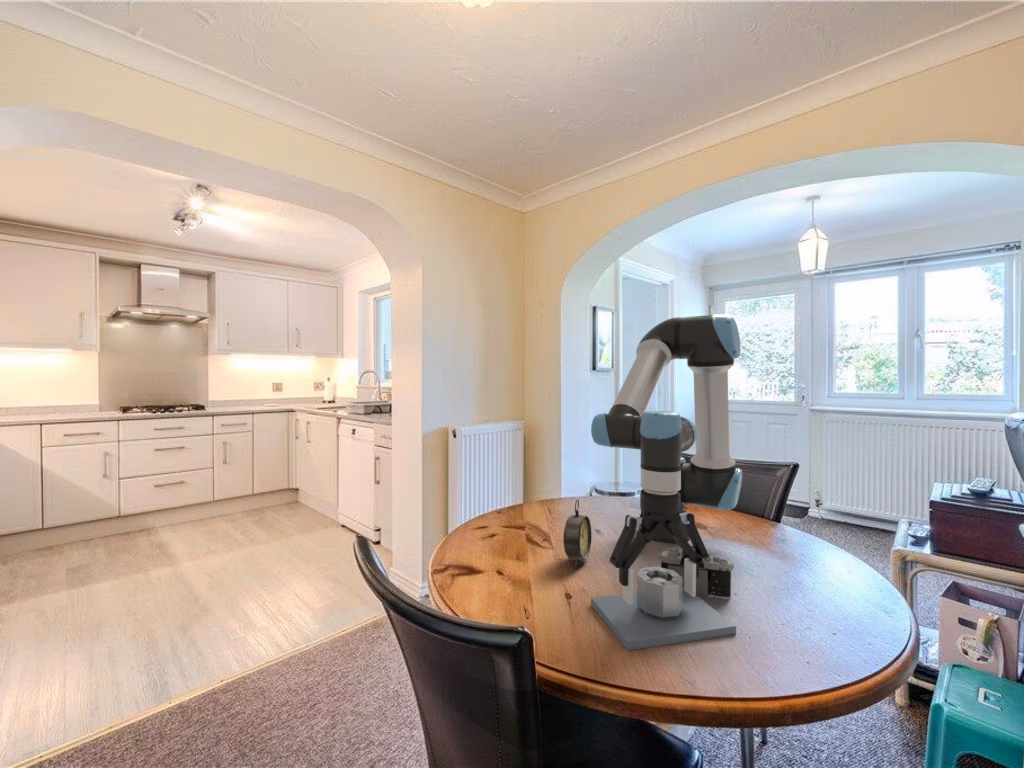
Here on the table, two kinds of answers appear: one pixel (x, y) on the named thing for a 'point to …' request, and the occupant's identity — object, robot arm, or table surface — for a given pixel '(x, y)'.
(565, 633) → the table surface
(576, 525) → the alarm clock
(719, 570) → the camera
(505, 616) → the table surface
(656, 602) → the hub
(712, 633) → the shaft block
